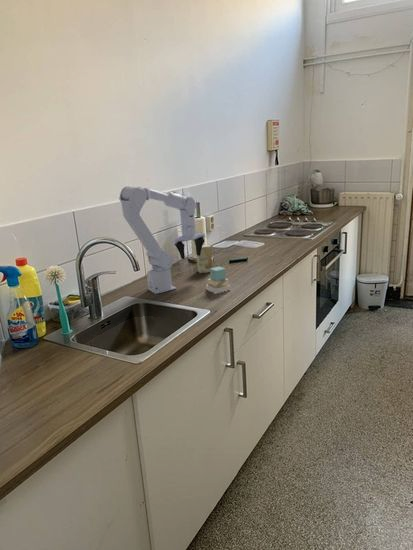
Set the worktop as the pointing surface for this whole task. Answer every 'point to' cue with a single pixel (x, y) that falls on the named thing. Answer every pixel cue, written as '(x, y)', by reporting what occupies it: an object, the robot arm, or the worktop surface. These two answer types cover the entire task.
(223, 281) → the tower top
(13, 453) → the worktop surface
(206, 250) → the skincare box
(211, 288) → the tower base
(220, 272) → the teal cube
